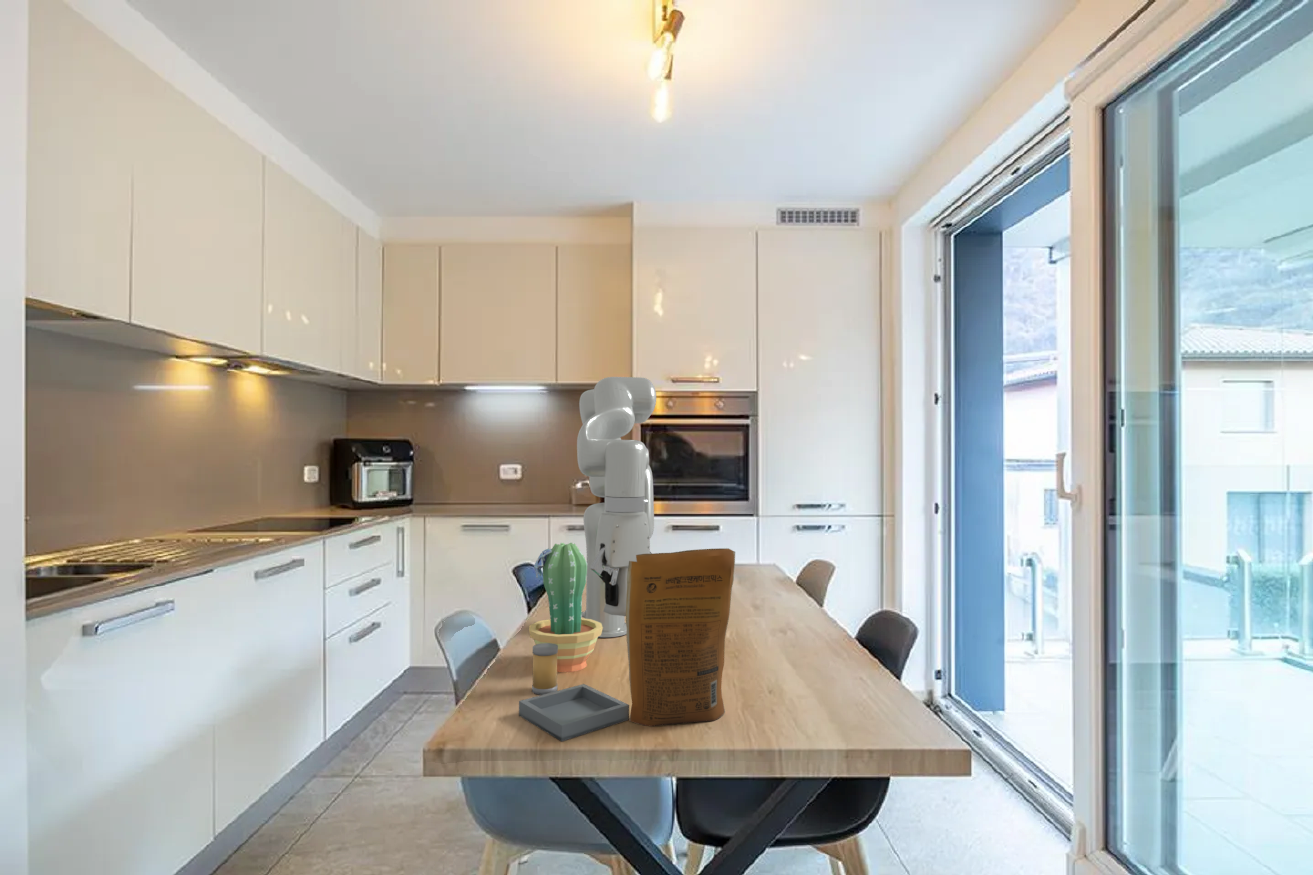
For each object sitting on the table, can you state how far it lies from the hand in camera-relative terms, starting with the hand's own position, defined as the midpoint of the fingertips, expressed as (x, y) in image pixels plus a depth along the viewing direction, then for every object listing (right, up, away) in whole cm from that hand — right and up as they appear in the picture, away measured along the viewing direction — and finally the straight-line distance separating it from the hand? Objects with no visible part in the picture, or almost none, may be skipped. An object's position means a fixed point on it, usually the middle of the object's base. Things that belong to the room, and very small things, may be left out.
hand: (623, 601), depth 123 cm
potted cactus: (-13, -16, +12) cm, 24 cm away
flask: (0, -2, 0) cm, 2 cm away
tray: (-7, -15, -15) cm, 23 cm away
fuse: (-14, -16, -3) cm, 21 cm away
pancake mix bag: (+10, -16, -16) cm, 24 cm away
